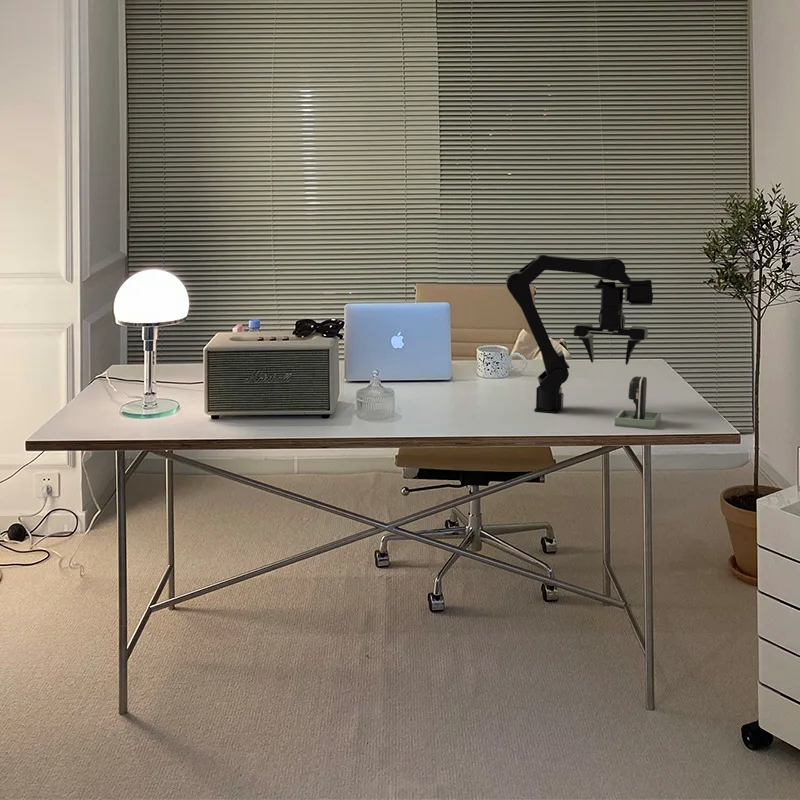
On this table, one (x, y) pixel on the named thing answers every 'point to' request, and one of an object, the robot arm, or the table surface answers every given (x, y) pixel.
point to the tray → (626, 421)
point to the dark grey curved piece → (638, 396)
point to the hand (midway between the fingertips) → (609, 363)
